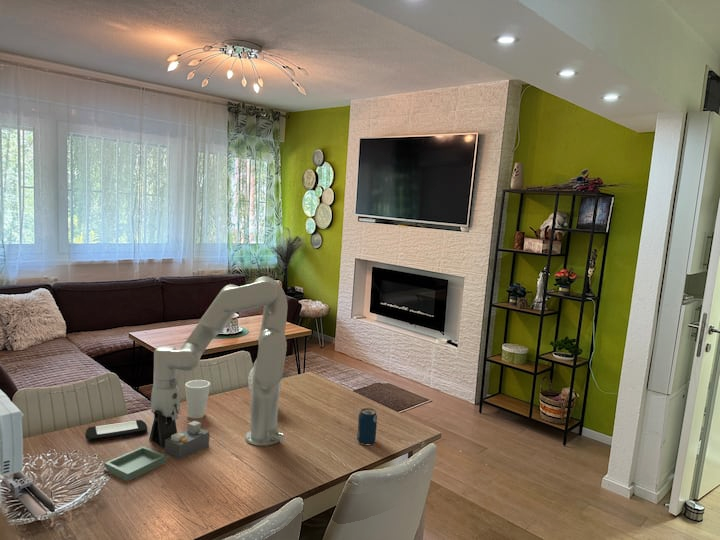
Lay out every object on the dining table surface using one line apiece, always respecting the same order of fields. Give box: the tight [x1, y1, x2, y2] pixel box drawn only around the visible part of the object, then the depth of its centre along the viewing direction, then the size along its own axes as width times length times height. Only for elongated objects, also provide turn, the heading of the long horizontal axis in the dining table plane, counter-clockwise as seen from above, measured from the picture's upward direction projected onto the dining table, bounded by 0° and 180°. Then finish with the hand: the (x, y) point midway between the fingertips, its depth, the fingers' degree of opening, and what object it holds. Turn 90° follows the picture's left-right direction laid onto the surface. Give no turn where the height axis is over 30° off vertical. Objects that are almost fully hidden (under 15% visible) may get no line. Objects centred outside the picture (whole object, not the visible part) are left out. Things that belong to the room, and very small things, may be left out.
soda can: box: [356, 408, 378, 445], centre depth 182 cm, size 7×7×12 cm
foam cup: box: [184, 379, 211, 419], centre depth 194 cm, size 10×9×13 cm
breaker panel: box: [163, 428, 210, 461], centre depth 167 cm, size 7×13×6 cm, turn 152°
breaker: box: [187, 420, 202, 435], centre depth 170 cm, size 3×3×4 cm
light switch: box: [85, 419, 148, 442], centre depth 176 cm, size 20×3×14 cm
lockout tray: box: [103, 445, 167, 482], centre depth 154 cm, size 11×14×2 cm
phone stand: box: [148, 410, 178, 449], centre depth 170 cm, size 9×6×12 cm, turn 52°
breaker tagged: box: [171, 431, 185, 442], centre depth 164 cm, size 3×3×4 cm
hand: (164, 432), depth 171 cm, fingers closed on phone stand
